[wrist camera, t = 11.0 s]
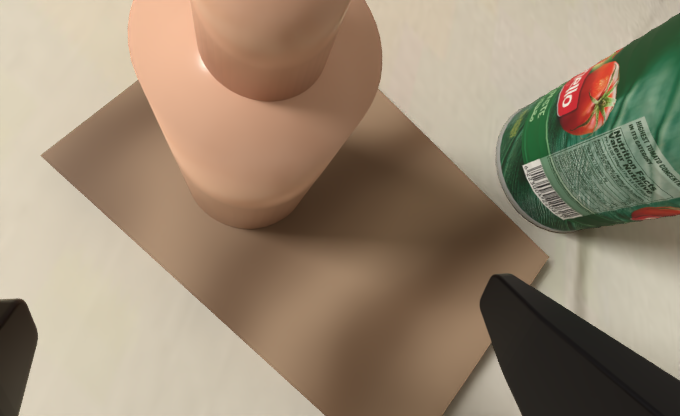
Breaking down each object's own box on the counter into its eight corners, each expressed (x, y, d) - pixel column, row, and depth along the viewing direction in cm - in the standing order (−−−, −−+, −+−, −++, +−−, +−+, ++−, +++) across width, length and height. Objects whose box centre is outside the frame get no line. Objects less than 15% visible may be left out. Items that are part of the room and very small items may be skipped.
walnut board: (529, 258, 23) (549, 257, 22) (385, 466, 19) (397, 481, 18) (265, -1, 22) (267, -20, 20) (55, 165, 18) (40, 155, 17)
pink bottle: (332, 170, 19) (523, -64, 7) (250, 254, 18) (290, 163, 5) (248, 89, 19) (274, -318, 6) (157, 167, 18) (-58, -168, 5)
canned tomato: (519, 80, 25) (724, -67, 15) (621, 143, 26) (880, 49, 16) (475, 193, 23) (679, 117, 12) (588, 257, 24) (863, 236, 14)
